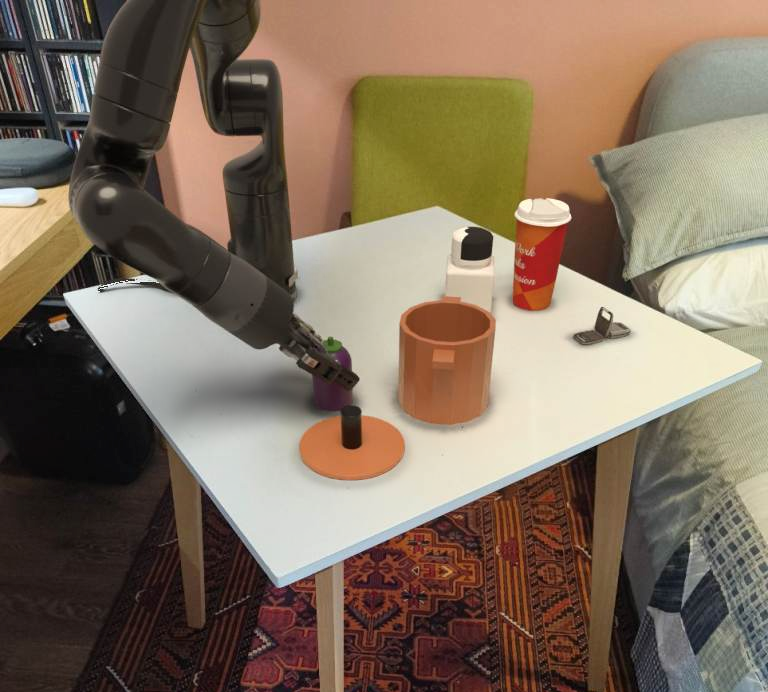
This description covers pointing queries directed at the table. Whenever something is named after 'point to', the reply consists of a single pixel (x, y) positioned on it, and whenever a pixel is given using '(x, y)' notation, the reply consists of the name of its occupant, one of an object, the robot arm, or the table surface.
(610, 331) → the strap clip
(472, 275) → the medicine bottle
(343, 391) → the aubergine
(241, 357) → the table surface
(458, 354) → the pot
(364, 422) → the lid
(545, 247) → the coffee cup
